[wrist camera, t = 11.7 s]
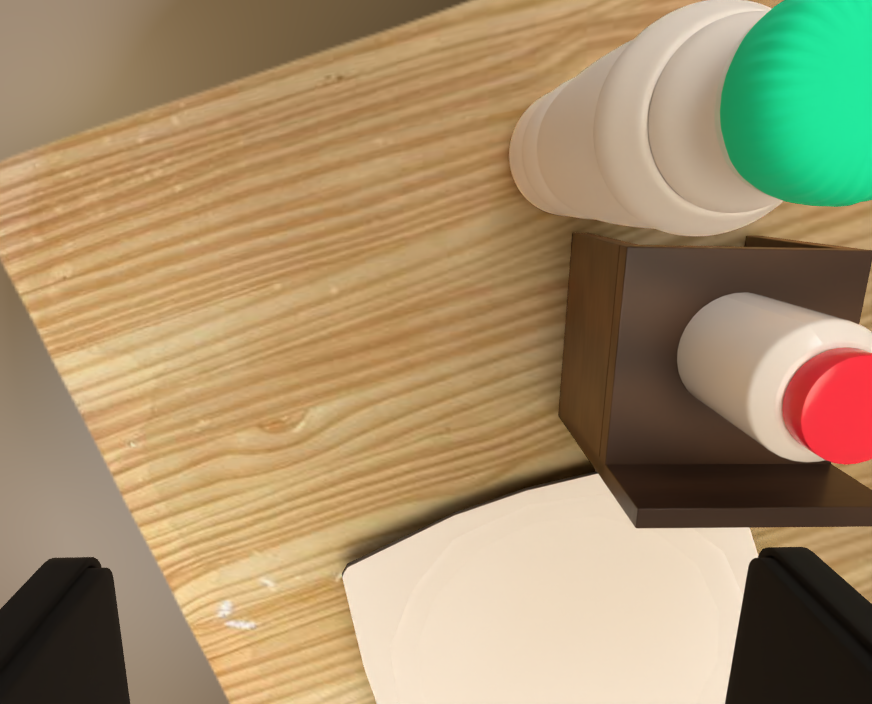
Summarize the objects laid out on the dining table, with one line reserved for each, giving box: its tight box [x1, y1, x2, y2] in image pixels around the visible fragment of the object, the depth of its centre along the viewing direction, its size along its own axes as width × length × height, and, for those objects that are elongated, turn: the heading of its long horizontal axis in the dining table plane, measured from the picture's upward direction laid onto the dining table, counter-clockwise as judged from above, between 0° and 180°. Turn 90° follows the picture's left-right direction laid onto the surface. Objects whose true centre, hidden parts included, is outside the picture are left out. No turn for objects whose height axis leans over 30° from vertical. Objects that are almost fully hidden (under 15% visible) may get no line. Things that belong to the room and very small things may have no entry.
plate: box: [342, 471, 758, 704], centre depth 44 cm, size 29×29×3 cm
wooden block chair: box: [559, 233, 872, 528], centre depth 33 cm, size 12×12×14 cm
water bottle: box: [509, 0, 872, 236], centre depth 24 cm, size 7×7×25 cm
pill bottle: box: [677, 292, 872, 464], centre depth 26 cm, size 6×6×8 cm
